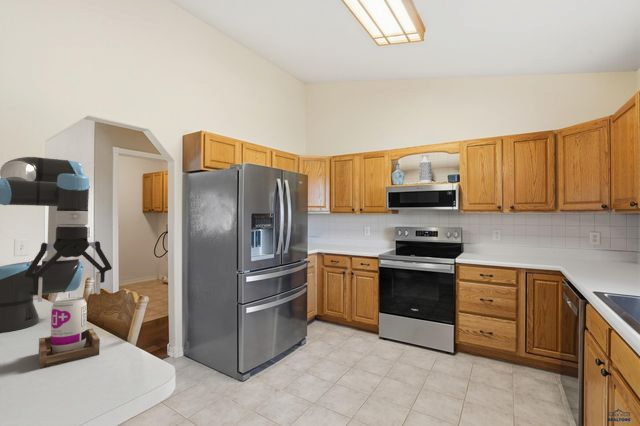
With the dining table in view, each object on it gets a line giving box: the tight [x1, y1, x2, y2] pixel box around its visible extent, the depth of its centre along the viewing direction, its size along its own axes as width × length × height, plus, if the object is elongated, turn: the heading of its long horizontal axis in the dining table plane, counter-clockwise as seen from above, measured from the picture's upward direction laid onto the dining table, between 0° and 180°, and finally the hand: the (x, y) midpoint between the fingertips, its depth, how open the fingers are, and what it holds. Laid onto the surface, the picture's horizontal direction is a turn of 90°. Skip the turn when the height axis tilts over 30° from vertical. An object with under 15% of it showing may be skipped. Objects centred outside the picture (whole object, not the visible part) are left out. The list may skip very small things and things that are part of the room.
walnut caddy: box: [38, 328, 101, 369], centre depth 93 cm, size 13×13×4 cm
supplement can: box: [50, 296, 88, 355], centre depth 93 cm, size 8×8×15 cm
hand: (70, 297), depth 93 cm, fingers open, 13 cm apart
